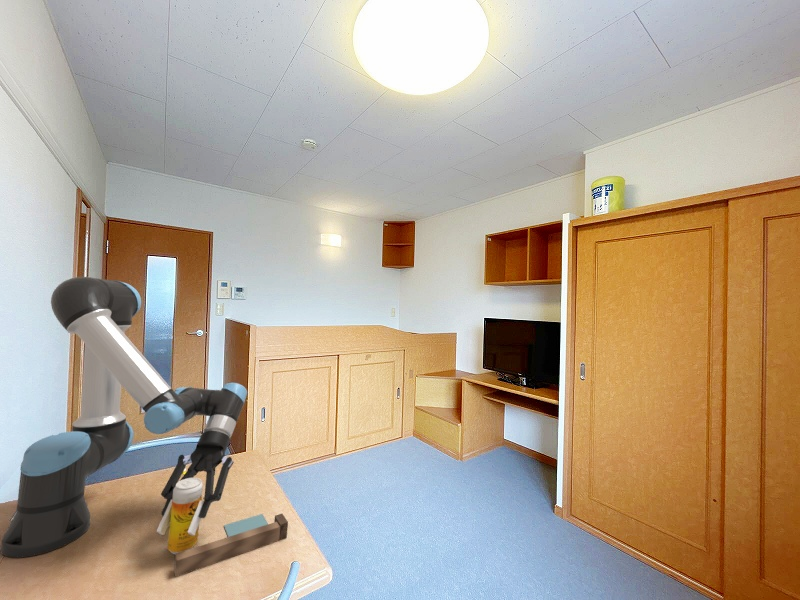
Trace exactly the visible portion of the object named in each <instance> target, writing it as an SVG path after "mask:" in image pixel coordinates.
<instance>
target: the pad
mask: <svg viewBox="0 0 800 600" xmlns="http://www.w3.org/2000/svg"><path fill="white" fill-rule="evenodd" d="M268 524H269V523H268V521H267V519H266V518H265V516H264V514H263V513H260V514H257V515H253V516H250V517H247V518H244V519H239V520H237V521H233V522H231V523H226V524H224V525H223V528H224V531H225V533H226V536H227V537H230V536H233V535H236V534H239V533H242V532H246V531H249V530H252V529H255V528H258V527H261V526H265V525H268Z"/></svg>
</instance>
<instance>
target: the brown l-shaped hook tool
mask: <svg viewBox="0 0 800 600" xmlns="http://www.w3.org/2000/svg"><path fill="white" fill-rule="evenodd" d="M273 520H274V522H271V523H268V525H265V526H261V527H258V528H255V529H252V530H249V531H246V532H242V533H239V534H236V535H233V536H230V537H228V536H227V537H224V538H221V539H220V538H219V539H217V540H213V541H211V542H208V543H205V544H203V545H199V546H195V547H193V548H192V549H189V550H186V551H183V552H179V553H176V554H175V558H174V569H173V571H174V572H173V573H174V577H175V578H176V577H177V578H178V577H179V576H182V575H186V574H189V573H191V572H193V571H194V572H195V571H196V569H197V570H200V569H202V567H203V568H205V567H208V566H211V565H214V564H215V563H219V562H222V561H225V560H228V559H230V558H233V557H236V556H238V555H242V554H245V553H248V552H250V551H253V550H257V549H259V548H262V547H265V546H267V545H270V544H273V543H276V542H279V541H281V540H284V539H287V537H288V529H289V527H288V526H289V521H288V520H287V518H286V517H285V516H284V514H283V513H279V514H276V515H274V519H273ZM207 565H208V566H207ZM199 568H200V569H199Z"/></svg>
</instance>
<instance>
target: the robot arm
mask: <svg viewBox="0 0 800 600" xmlns="http://www.w3.org/2000/svg"><path fill="white" fill-rule="evenodd" d="M50 304H51V310H52V312H53V314H54V317H55V318H56V320H57V321H58V322H59V323H60V325H61V326H62V327H63V329H65V330H66V332H67V333H69V334H72V335H76V336H78V338H80V340H81V341H82V342H83V343H84V354H83V355H84V356H83V357H84V358H83V359H84V360H83V369H82V370H83V371H82V374H83V375H82V385H81V387H82V388H81V402H80V403H81V404H80V416H79V417H78V418H77V419H76V420H74V421H73V422H72V427H71V428H72V429H71V431H66V432H59V433H58V434H56V435H55V434H54V435H53V434H52V435H51V434H50V435H49V436H46V437H44V438H41V439H39V440H37V441H36V442H34V443H32V444H31V445H29V446H28V447H27V448H26V450H25V451H24V454H23V458H22V461H21V464H20V476H19V486H18V496H17V506H16V511H15V514H14V516H13V518H12V520H11V522H10V523H9V525H8V528H7V530H6V531H5V533H4V535H3V536H2V540H1V545H0V553H1V554H2V556H5V557H7V558H27V557H33V556H34V557H35V556H38V555H42V554H45V553H48V552H51V551H55V550H56V549H60V548H62V547H64V546H67V545H69V544H70V543H73V542H74V541H75V540H77V539H79V538H80V537H82V536H83V535H84V534H85V533H86V532H87V531H88V529H89V528H90V525H91V512H90V510H89V506H88V504H87V501H86V499H85V489H86V481H87V477H90V475H92V474H94V473H96V472H97V471H99V470H101V469H102V468H104V467H106V466H107V465H109V464H112V463H114V462H115V461H117V460H119V458H121V456H123V455H125V453H127V451H128V450H129V449H130V448H131V446H132V443H133V440H134V435H135V434H134V429H133V427H132V425H130V423H129V422H128V421H127V415H125V414H124V413H123V412H122V411H121V399H122V398H121V397H122V396H121V395H122V387H123V389H124V390H125V391H126V392H127V393H128V394H129V395H130V397H132V399H133V400H134V401H135V402H136V403H137V405H139V406H140V408H141V409H142V410H143V412H145V414H144V416H143V424H144V428H146V430H147V431H148V432H150V433H152V434H155V435H164V434H166V433H169V432H171V431H174V430H175V429H178V428H179V427H180V426H181V425H183V424H184V423H187V422H188V421H189V420H191V419H193V418H194V417H196V416H204V417H208V420H207V422H206V423H205V425H204V428H203V430H202V433H201V435H200V437H199V439H198V442H197V444H196V447H195V449H194V450H193V451H192V452H191V454H188V455H184V454H180V455H179V456H178V458H177V464H176V466H175V468H174V469H173V471H172V473H171V475H170V477H169V478H168V481H167V482H166V483H165V485H164V486H163V487H164V488H163V489H162V491H161V494H160V495H161V497H163V498H164V499H165V500H166V502H165V504H164V505H163V508H162V511H161V513H160V516H161V517H162V519H161V521H160V522H159V525H158V527H157V529H156V533H158V534H160V535H163V536H164V535H165V534H166V531H167V530H168V527H169V526H170V518H171V508H172V498H173V490H174V488H175V486H176V484H177V483H178V482H179V481H181V480H183V479H187V478H195V476H196V475H198V474H199V473H200V472H206V474H205V475H206V476H205V488H204V496H203V497H202V499H203V500H201V501H200V502H199V504H198V507H197V509H196V512H195V514H194V517H193V520H192V522H191V525H190V527H189V530H188V533H189V534H190V535H192V536H195V533H196V530H197V528H198V525H199V526H200V522H201V520H202V519H205V518H206V517H207V515H208V511H209V508H210V506H211V504H212V503H214V502H219V501H221V498H222V495H223V492H224V488H225V485H226V482H227V479H228V475H229V472H230V469H231V467H232V466H233V464H234V462H235V461H234V460H233V458H232V457H231V456H228V457H227V456H226V454H225V453H226V451H227V449H228V447H229V443H230V441H231V438H232V435H233V434H234V431H235V428H236V425H237V422H238V421H239V418H240V415H241V412H242V410H243V407H244V405H245V402H246V398H247V395H248V390H247V388H246V387H245V386H244V385H242V384H240V383H238V382H230V383H225V384H224V385H223V387H221V389H207V388H197V387H191V386H188V387H185V386H184V387H183V386H182V387H177V388H176V389H173V388H172V386H170V385H169V384H168V382H166V380H165V379H164V378H163V377H162V375H161V373H159V372H158V370H156V369H155V367H154V366H153V365H152V364H151V362H149V360H148V359H147V358H146V357H145V356H144V355H143V353H142V352H141V351H140V350H139V349H138V348H137V346H136V345H135V344H134V343H133V342H132V341H131V339H130V338H129V337H128V336H127V334H125V333H126V331H127V330H128V329H129V328H131V327H132V325H133V317H134V316H136V315H137V314H138V313H139V312H140V309H141V307H142V298H141V295H140V293H139V291H138V290H137V289H136V288H135V287H133V285H131V284H129V283H127V282H123V281H120V280H115V279H105V278H97V277H91V276H76V277H72V278H69V279H66V280H64V281H62V282H61V283H59V284H58V286H57V287H56V288H55V289H54V290H53V291H52V295H51V299H50ZM190 461H191V464H190V465H189V462H190ZM220 464H222V466H221V469H220V472H219V476H218V477H217V481H216V485H214V484H215V476H216V475H215V474H216V469H217V467H218V466H219V465H220ZM187 465H189V466H188V468H187V469H186V466H187ZM184 469H186V473H185V474H184V475H183V474H182V473H183V471H184ZM180 478H181V479H180ZM214 487H215V488H214Z"/></svg>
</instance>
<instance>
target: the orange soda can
mask: <svg viewBox="0 0 800 600" xmlns="http://www.w3.org/2000/svg"><path fill="white" fill-rule="evenodd" d="M180 480H181V479H180ZM180 480H179V481H178V483H177V484H176V486H175V488H174V490H173V498H172V508H171V518H170V523H169V529H168V538H167V550H168V551H170V553H171V554H173V555H176V553H179V552H183V551H186V550H189V549H192V548H195V547H194V546H195V545H196V544H197V542H198V539H199V538H198V537H199V527H200V524H199V525H198V528H197V530H196V533H195V536H192V535H190V534H189V533H188V530H189V527H190V525H191V522H192V520H193V517H194V514H195V512H196V509H197V507H198V504H199V502H200V501H203V500H202V499H203V488H204V484H203V482H202V479H201V478H199V477H193V478H187V479H183V480H181V481H180Z"/></svg>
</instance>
